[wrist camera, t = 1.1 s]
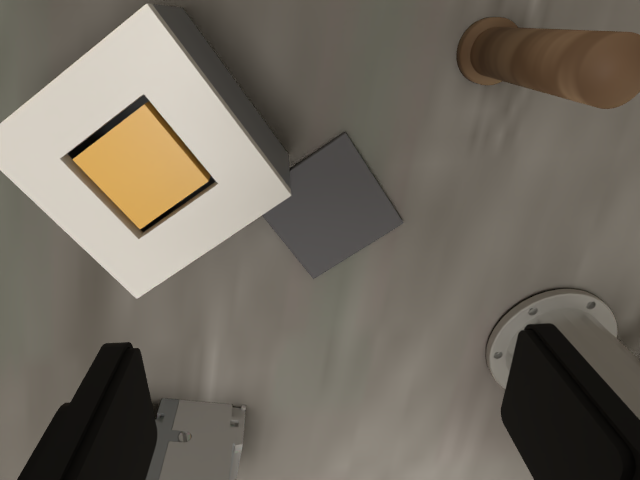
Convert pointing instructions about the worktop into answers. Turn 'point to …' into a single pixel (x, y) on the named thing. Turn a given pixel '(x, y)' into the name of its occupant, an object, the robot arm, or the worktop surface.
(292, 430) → the worktop surface
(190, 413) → the circuit breaker
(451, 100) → the worktop surface
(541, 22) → the worktop surface
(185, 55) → the square socket block
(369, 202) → the rubber mat
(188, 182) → the button
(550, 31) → the wooden pepper mill
